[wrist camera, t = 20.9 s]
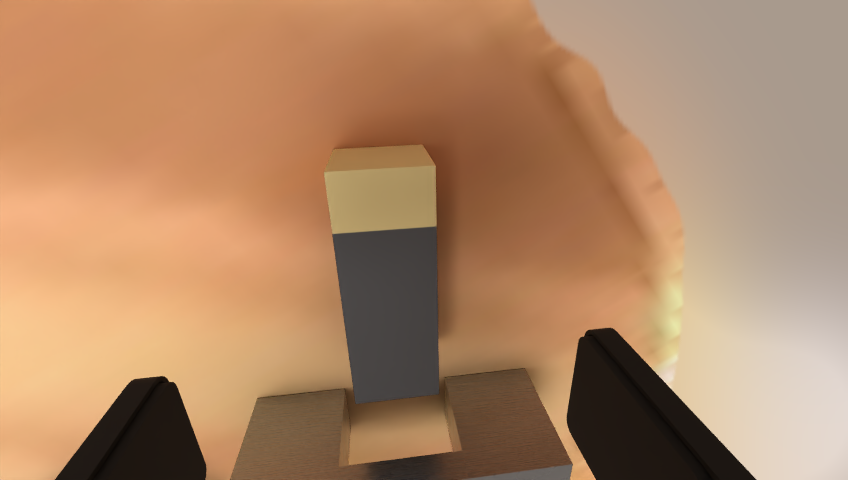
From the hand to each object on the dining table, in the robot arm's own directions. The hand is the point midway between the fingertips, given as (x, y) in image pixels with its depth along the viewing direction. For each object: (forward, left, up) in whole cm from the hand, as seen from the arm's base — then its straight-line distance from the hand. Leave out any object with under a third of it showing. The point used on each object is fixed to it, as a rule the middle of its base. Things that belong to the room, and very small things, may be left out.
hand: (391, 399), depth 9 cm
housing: (-17, 0, -16) cm, 23 cm away
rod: (-4, 0, -16) cm, 16 cm away
